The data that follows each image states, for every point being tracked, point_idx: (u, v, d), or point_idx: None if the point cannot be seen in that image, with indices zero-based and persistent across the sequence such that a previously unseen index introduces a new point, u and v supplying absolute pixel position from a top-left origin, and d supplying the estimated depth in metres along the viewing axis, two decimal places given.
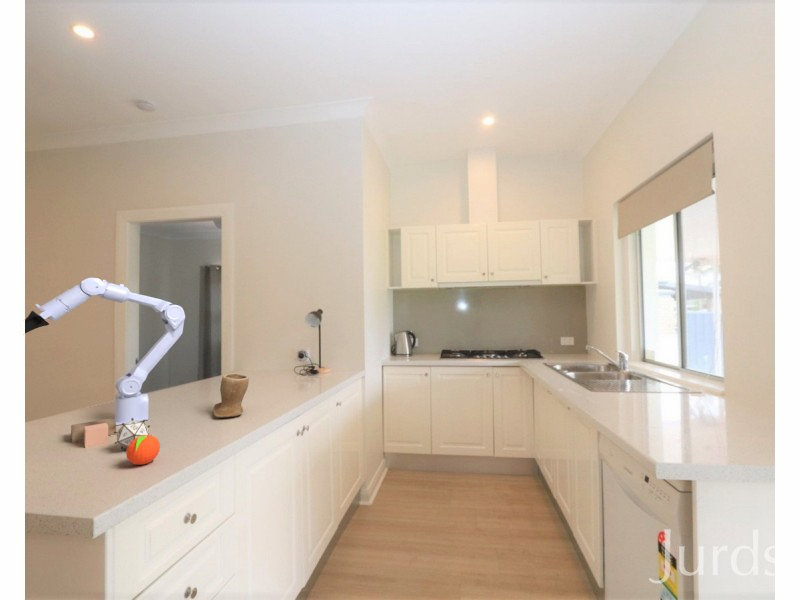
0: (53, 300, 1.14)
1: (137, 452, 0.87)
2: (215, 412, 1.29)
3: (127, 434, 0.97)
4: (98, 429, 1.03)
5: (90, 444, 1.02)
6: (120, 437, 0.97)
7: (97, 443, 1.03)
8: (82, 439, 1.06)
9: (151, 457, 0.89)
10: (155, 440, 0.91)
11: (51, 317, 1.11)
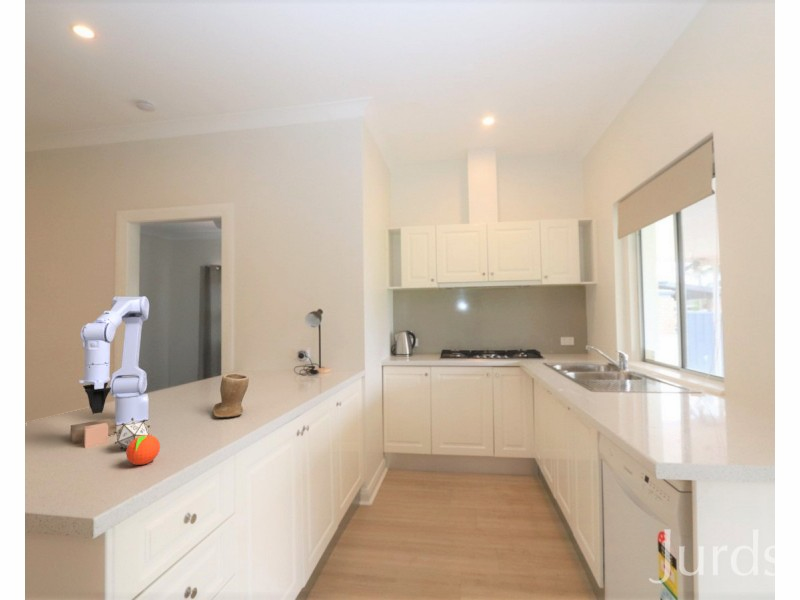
0: (87, 368, 1.03)
1: (137, 452, 0.87)
2: (215, 412, 1.29)
3: (127, 434, 0.97)
4: (98, 429, 1.03)
5: (90, 444, 1.02)
6: (120, 437, 0.97)
7: (97, 443, 1.03)
8: (83, 439, 1.06)
9: (151, 457, 0.89)
10: (155, 440, 0.91)
11: (105, 381, 1.03)
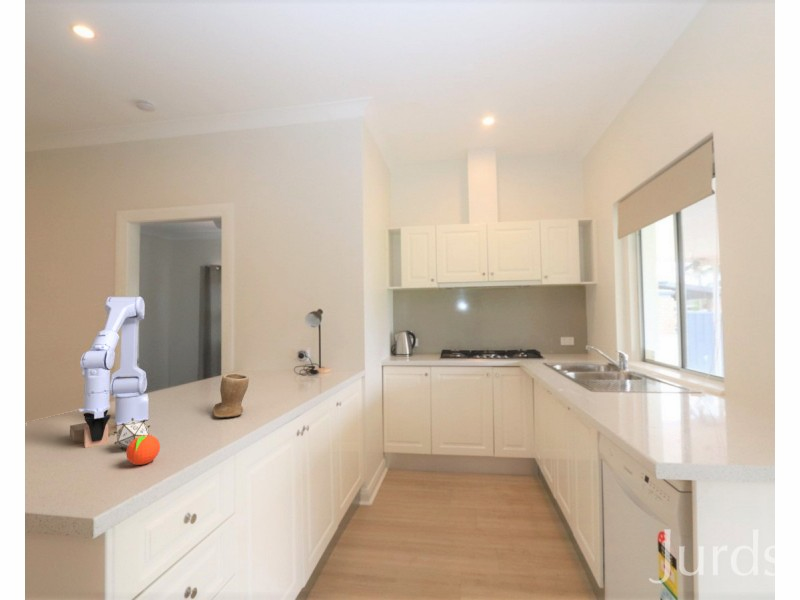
0: (86, 397, 1.03)
1: (137, 452, 0.87)
2: (215, 412, 1.29)
3: (127, 434, 0.97)
4: None
5: (90, 444, 1.02)
6: (120, 437, 0.97)
7: (97, 443, 1.03)
8: (83, 439, 1.07)
9: (151, 457, 0.89)
10: (155, 440, 0.91)
11: (105, 410, 1.03)
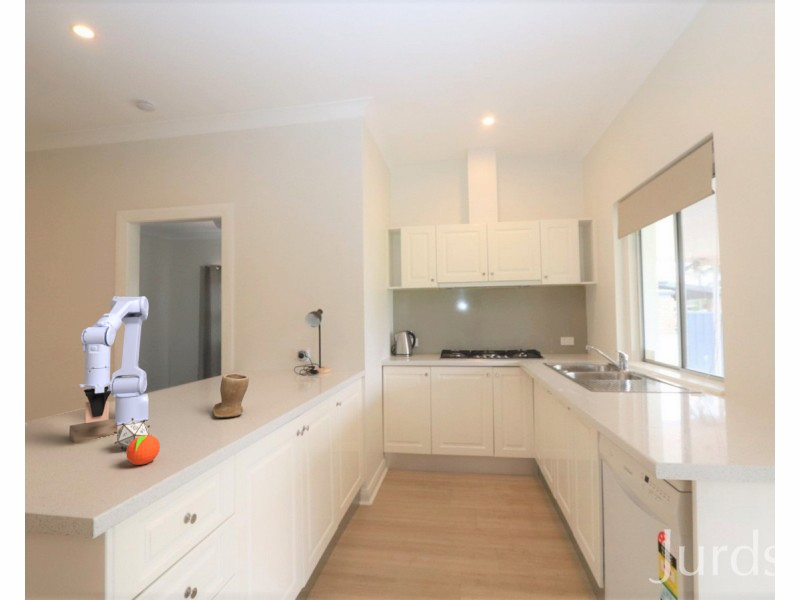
0: (87, 372, 1.03)
1: (137, 452, 0.87)
2: (215, 412, 1.29)
3: (127, 434, 0.97)
4: None
5: (91, 419, 1.02)
6: (120, 437, 0.97)
7: (98, 418, 1.03)
8: (84, 439, 1.07)
9: (151, 457, 0.89)
10: (155, 440, 0.91)
11: (105, 385, 1.03)
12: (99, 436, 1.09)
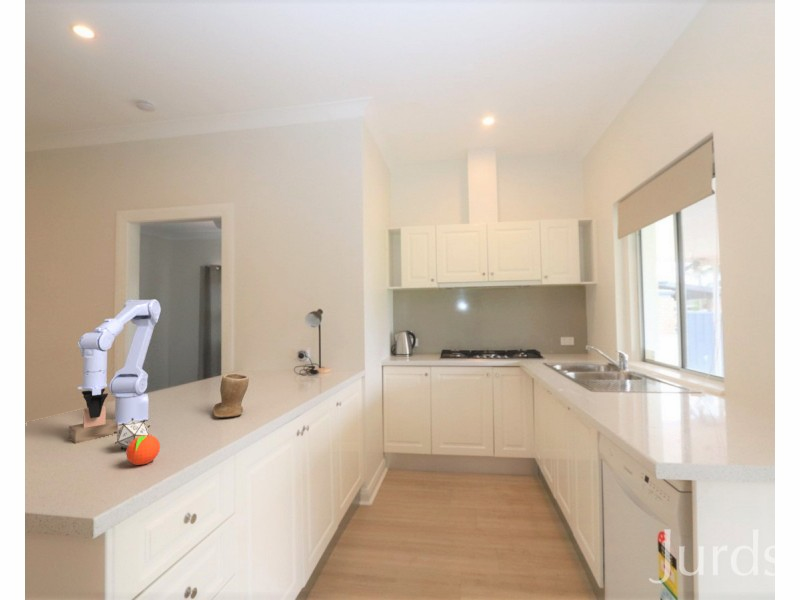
0: (85, 375, 1.09)
1: (137, 452, 0.87)
2: (215, 412, 1.29)
3: (127, 434, 0.97)
4: None
5: (89, 424, 1.09)
6: (120, 437, 0.97)
7: (95, 423, 1.10)
8: (85, 439, 1.07)
9: (151, 457, 0.89)
10: (155, 440, 0.91)
11: (102, 387, 1.09)
12: (100, 436, 1.09)
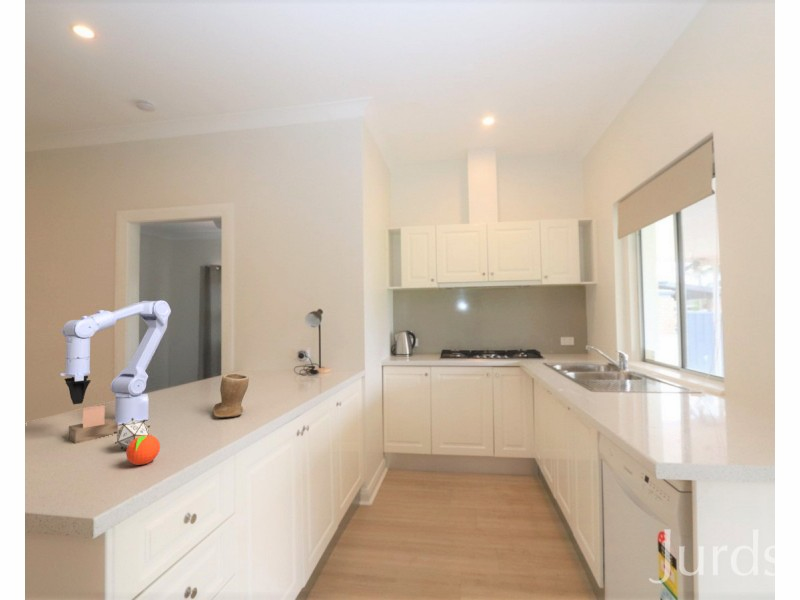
0: (68, 362, 1.10)
1: (137, 452, 0.87)
2: (215, 412, 1.29)
3: (127, 434, 0.97)
4: (95, 410, 1.10)
5: (87, 424, 1.09)
6: (120, 437, 0.97)
7: (94, 423, 1.10)
8: (85, 439, 1.07)
9: (151, 457, 0.89)
10: (155, 440, 0.91)
11: (85, 374, 1.10)
12: (100, 436, 1.09)
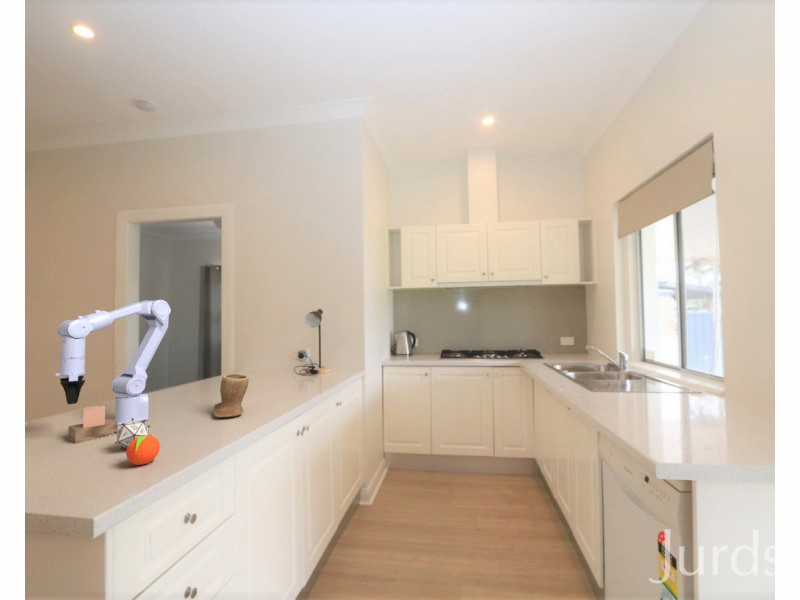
0: (62, 362, 1.10)
1: (137, 452, 0.87)
2: (215, 412, 1.29)
3: (127, 434, 0.97)
4: (95, 410, 1.10)
5: (88, 424, 1.09)
6: (120, 437, 0.97)
7: (94, 424, 1.10)
8: (85, 439, 1.07)
9: (151, 457, 0.89)
10: (155, 440, 0.91)
11: (79, 374, 1.10)
12: (100, 436, 1.09)
